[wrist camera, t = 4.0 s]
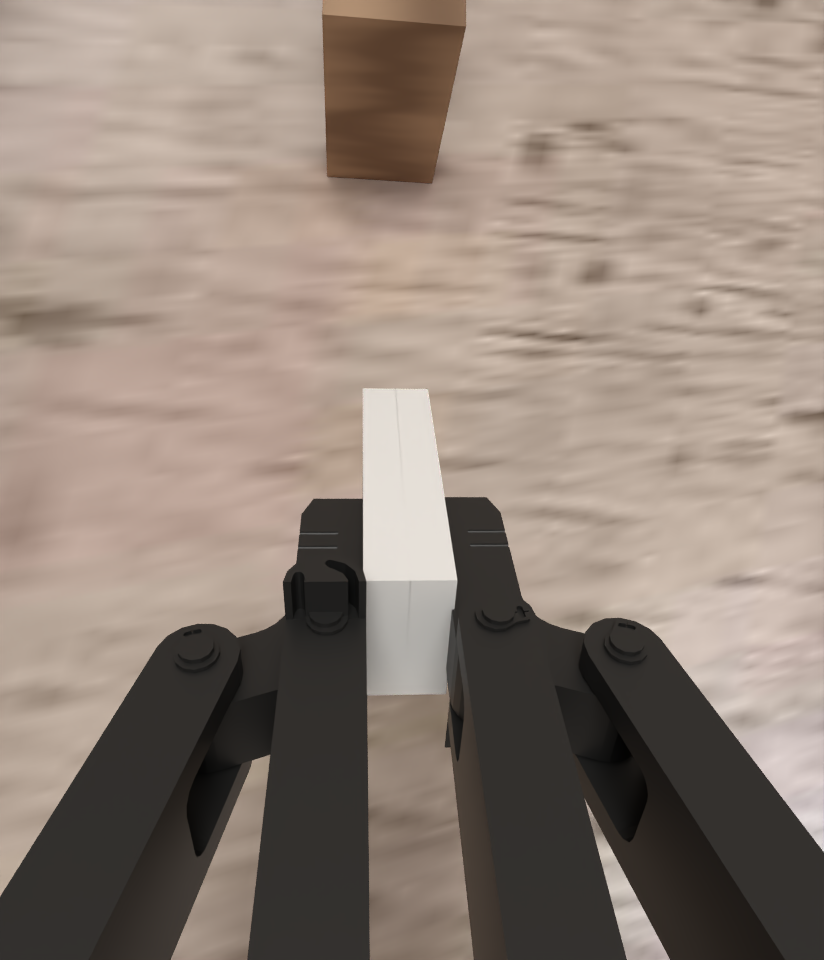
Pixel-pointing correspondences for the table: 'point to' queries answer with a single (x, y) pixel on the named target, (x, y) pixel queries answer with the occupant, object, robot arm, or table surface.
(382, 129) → the domino
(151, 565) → the table surface
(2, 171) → the table surface
